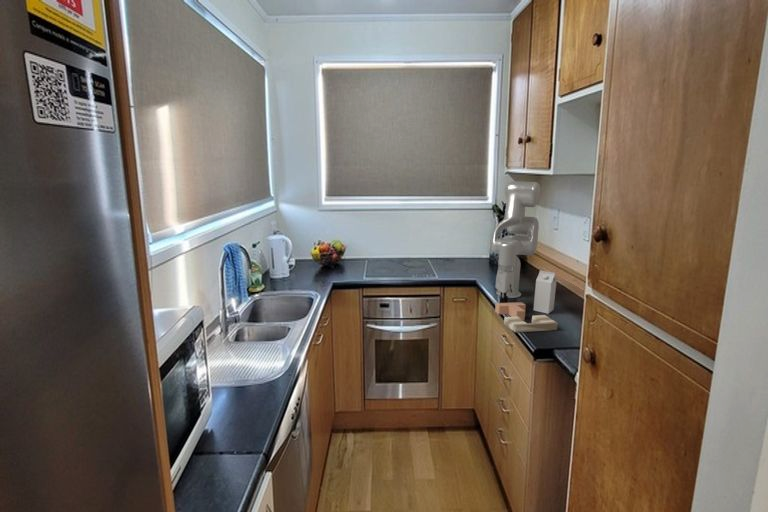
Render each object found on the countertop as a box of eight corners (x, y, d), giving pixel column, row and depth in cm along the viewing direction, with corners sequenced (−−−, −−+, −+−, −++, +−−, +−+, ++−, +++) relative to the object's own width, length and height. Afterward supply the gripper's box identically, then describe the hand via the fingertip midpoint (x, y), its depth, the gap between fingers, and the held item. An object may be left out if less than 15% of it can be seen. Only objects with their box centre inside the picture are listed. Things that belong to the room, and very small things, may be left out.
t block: (495, 311, 204) (495, 303, 203) (520, 310, 206) (521, 302, 206) (506, 320, 192) (507, 311, 192) (533, 319, 195) (534, 310, 194)
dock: (504, 323, 189) (504, 317, 188) (544, 321, 192) (544, 314, 191) (514, 332, 179) (515, 325, 178) (557, 329, 182) (557, 323, 182)
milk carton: (538, 307, 211) (542, 269, 207) (553, 310, 207) (557, 271, 203) (533, 310, 206) (536, 271, 202) (548, 314, 201) (552, 274, 197)
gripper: (492, 264, 213) (489, 300, 216) (505, 272, 198) (502, 310, 202) (506, 264, 214) (503, 300, 218) (521, 271, 199) (517, 309, 203)
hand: (503, 304), depth 210 cm, fingers closed
